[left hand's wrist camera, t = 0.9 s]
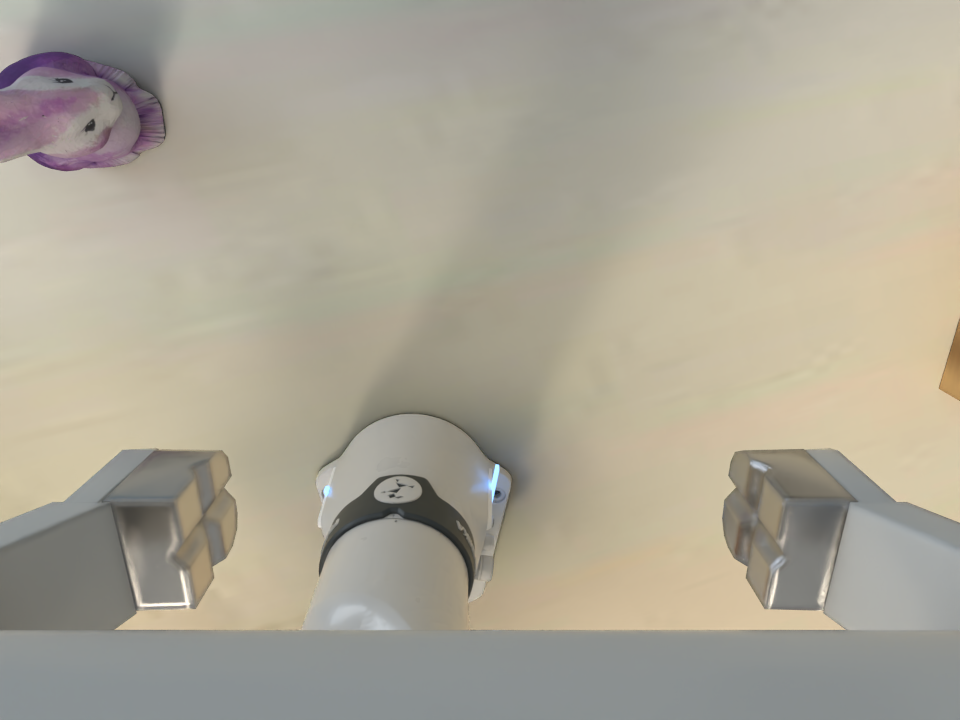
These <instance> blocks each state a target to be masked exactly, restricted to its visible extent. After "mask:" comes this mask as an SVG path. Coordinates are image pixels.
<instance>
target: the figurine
mask: <svg viewBox="0 0 960 720" xmlns="http://www.w3.org/2000/svg"><path fill="white" fill-rule="evenodd" d="M163 126H164V124H163V117H162V110H161V108H160V104H159V103H158V100H157V99H156V98H155V97H154V96H153V95H152V94H150V93H149V92H146V91H144V90H142V89H140V88H139V87H138V86H137V85H136V82H135V81H134V79H133V78H132V77H130V76H129V75H128V74H127V73H126V72H123V71H121V70H118V69H115V68H112V67H110V66H106V65H102V64H99V63H95V62H91V61H87V60H84V59H82V58H80V57H78V56H75V55H72V54H69V53H64V52H47V53H41V54H36V55H32V56H29V57H27V58H24V59H22V60H19V61H18V62H16V63H13V64H11V65H9V66H8V67H7V68H5V69H4V70H3V71H2V72H1V73H0V163H4V162H7V161H10V160H13V159H16V158H19V157H22V156H25V155H28V156H29V157H30V158H32V159H33V160H34V161H36V162H37V163H39V164H41V165H43V166H45V167H48V168H51V169H56V170H61V171H74V170H80V169H82V168H101V167H112V166H118V165H123V164H127V163H130V162H131V161H133V160H134V159H136V158H137V157H138V156H140V153H141V152H142V151H146V150H148V149H151V148H155V147H157V146H159V145H160V144H161V143H162V142H163V141H164V136H165V131H164V127H163Z"/></svg>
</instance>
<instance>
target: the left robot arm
mask: <svg viewBox="0 0 960 720" xmlns="http://www.w3.org/2000/svg"><path fill="white" fill-rule="evenodd" d="M231 476H232V475H231V470H230V465H229V460H228V457H227V455H226V454H225V453H224V452H223V451H222V450H171V449H161V450H159V449H130V450H122V451H121V452H120V453H119V454H118V455H116V456H115V457H114V458H113V459H112V460H111V461H110V462H109V463H107V464H106V465H105V466H104V467H103V468H102V469H101V470H99V471H98V472H97V473H96V474H95V475H94V476H93V477H91V478H90V479H89V480H88V481H87V482H86V483H85V484H83V485H82V486H81V487H80V488H79V489H78V490H77V491H76V492H74V493H73V494H72V495H71V496H70V497H69V498H68V499H66V500H65V501H64V502H52V503H50V504H47V505H45V506H42V507H40V508H37V509H34V510H32V511H29V512H27V513H24V514H22V515H19V516H17V517H14V518H12V519H9V520H6V521H4V522H1V523H0V720H960V523H959V522H956V521H953V520H951V519H948V518H946V517H943V516H941V515H938V514H936V513H933V512H931V511H928V510H926V509H923V508H920V507H918V506H915V505H913V504H910V503H908V502H896V501H895V500H894V499H893V498H891V497H890V496H889V495H888V494H887V493H886V492H885V491H883V490H882V489H881V488H880V487H879V486H878V485H877V484H875V483H874V482H873V481H872V480H871V479H870V478H869V477H868V476H866V475H865V474H864V473H863V472H862V471H861V470H860V469H858V468H857V467H856V466H855V465H854V464H853V463H852V462H851V461H849V460H848V459H847V458H846V457H845V456H844V455H843V454H841V453H840V452H839V451H837V450H834V449H830V448H829V449H807V450H804V449H786V450H744V451H738V452H735V453H734V456H733V458H732V460H731V464H730V469H729V475H728V476H729V477H730V479H731V480H732V482H733V483H734V485H735V487H736V488H735V489H734V490H733V491H732V493H731V494H730V495H729V496H728V497H727V498H726V499H725V500H724V509H723V517H722V520H723V530H724V537H725V540H726V543H727V546H728V548H729V550H730V552H731V554H732V555H733V557H734V558H735V559H736V560H738V561H739V562H741V563H743V564H744V565H746V566H748V568H747V574H746V579H747V581H748V582H749V584H750V586H751V587H752V589H753V591H754V592H755V594H756V595H757V597H758V599H759V600H760V602H761V604H762V605H763V607H764V609H784V610H821V611H824V612H823V613H824V614H825V615H827V616H828V617H829V618H831V619H832V620H833V621H835V622H836V623H837V624H839V625H840V626H842V627H843V628H844V629H846V630H469V616H468V603H469V602H472V601H474V600H476V599H478V598H479V597H481V596H482V594H483V592H484V589H485V585H486V581H487V582H489V581H491V579H492V574H493V567H494V557H493V554H494V550H495V547H496V543H497V539H498V535H499V531H500V527H501V524H502V520H503V516H504V512H505V508H506V504H507V501H508V497H509V493H510V489H511V482H512V478H511V475H510V474H509V473H508V472H507V471H506V470H505V469H504V468H502V467H501V466H499V465H497V464H496V463H494V462H492V461H490V460H489V459H488V458H487V457H486V456H485V455H484V454H483V453H482V452H481V450H480V449H479V447H478V446H477V445H476V443H475V442H474V441H473V440H472V439H471V438H470V437H469V436H468V435H467V434H466V433H465V432H464V431H462V430H461V429H460V428H458V427H456V426H455V425H453V424H451V423H449V422H447V421H445V420H442V419H440V418H436V417H433V416H429V415H423V414H400V415H394V416H390V417H386V418H383V419H381V420H378V421H376V422H374V423H372V424H371V425H369V426H367V427H366V428H364V429H363V430H362V431H361V432H360V433H358V434H357V435H356V436H355V438H354V439H353V440H352V441H351V442H350V444H349V445H348V447H347V448H346V450H345V451H344V453H343V454H342V455H341V456H340V457H339V458H338V459H336V460H335V461H333V462H331V463H330V464H328V465H326V466H325V467H323V468H322V469H321V470H320V471H319V472H318V474H317V478H316V487H317V490H318V493H319V496H320V499H321V502H322V507H321V510H320V514H319V517H318V527H319V528H321V529H322V533H323V536H324V539H325V541H324V544H323V548H322V552H321V559H320V564H319V580H318V583H317V586H316V588H315V591H314V594H313V597H312V600H311V603H310V606H309V609H308V611H307V614H306V617H305V620H304V623H303V626H302V629H301V630H115V629H116V628H117V627H119V626H120V625H121V624H123V623H124V622H125V621H127V620H128V619H130V618H131V617H132V616H134V615H135V614H136V613H137V612H136V611H139V610H174V609H196V607H197V605H198V604H199V602H200V601H201V599H202V597H203V596H204V594H205V592H206V591H207V589H208V587H209V586H210V584H211V582H212V581H213V579H214V574H213V568H212V566H214V565H216V564H217V563H219V562H221V561H222V560H224V559H225V558H226V557H227V555H228V553H229V552H230V550H231V548H232V546H233V543H234V539H235V535H236V531H237V507H236V500H235V499H234V498H233V497H232V496H231V495H230V494H229V493H228V491H227V490H226V489H225V488H224V487H225V485H226V483H227V482H228V480H229V479H230V477H231ZM496 490H497V491H500V493H499V494H494V492H495V491H496Z"/></svg>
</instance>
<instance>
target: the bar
mask: <svg viewBox="0 0 960 720" xmlns="http://www.w3.org/2000/svg"><path fill="white" fill-rule="evenodd" d="M939 389H940V390H942V391H944V392H946V393H947V394H949V395H951V396H952V397H954V398H956V399H958V400H959V401H960V320H959V324H958V327H957V330H956V334H955V337H954V340H953V344H952V347H951V350H950V354H949V357H948V360H947V364H946V367H945V370H944V374H943V377H942V380H941V384H940V387H939Z"/></svg>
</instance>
